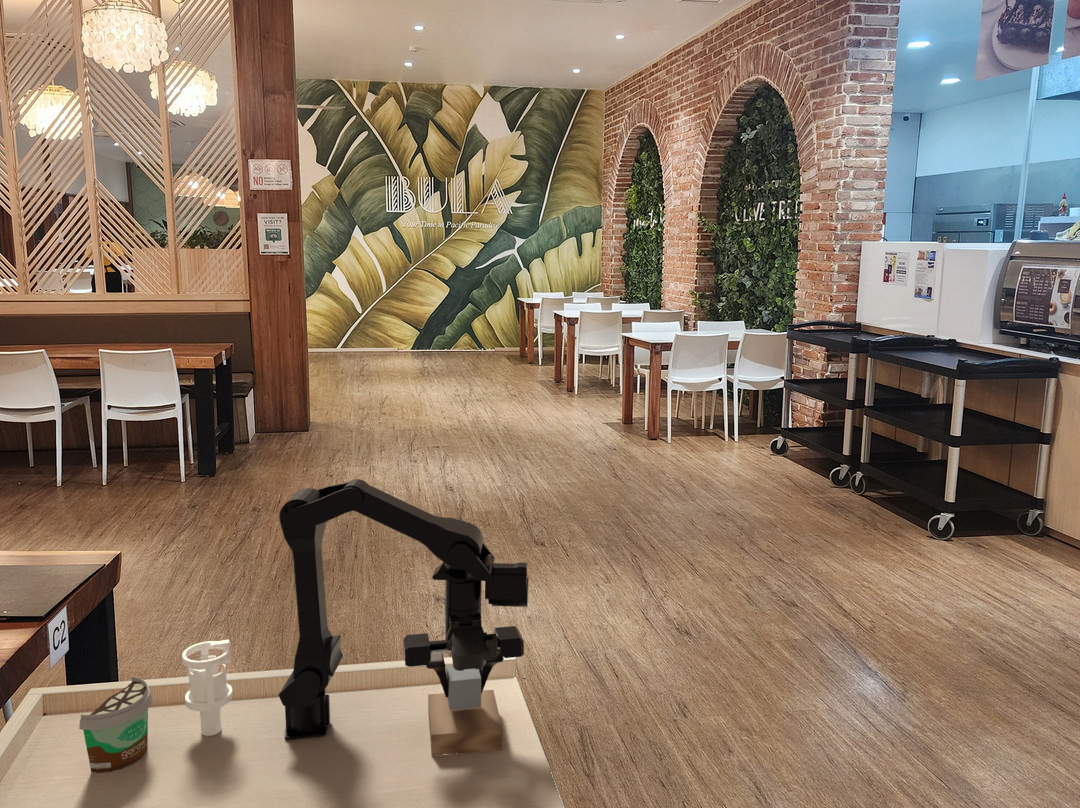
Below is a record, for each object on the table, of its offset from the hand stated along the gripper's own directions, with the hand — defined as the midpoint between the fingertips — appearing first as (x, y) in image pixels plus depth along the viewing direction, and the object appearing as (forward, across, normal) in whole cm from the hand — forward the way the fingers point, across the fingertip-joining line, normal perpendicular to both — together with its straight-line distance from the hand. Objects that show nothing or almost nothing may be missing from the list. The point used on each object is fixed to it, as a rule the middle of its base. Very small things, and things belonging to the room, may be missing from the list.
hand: (463, 694), depth 137 cm
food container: (+7, -51, +3) cm, 51 cm away
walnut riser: (+7, 0, 0) cm, 7 cm away
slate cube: (+1, 0, 0) cm, 1 cm away
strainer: (+7, -40, +8) cm, 41 cm away
